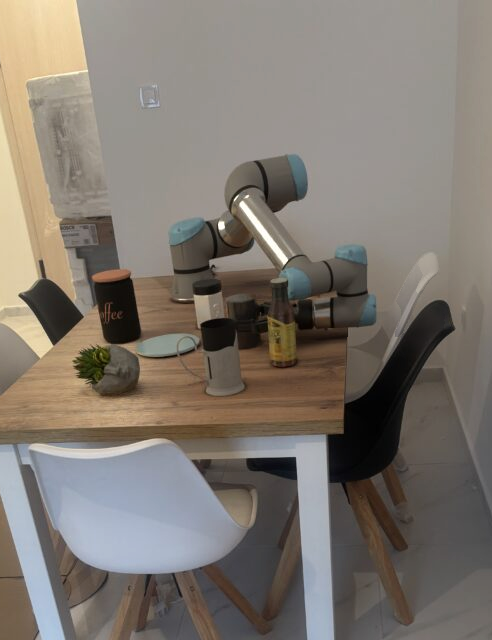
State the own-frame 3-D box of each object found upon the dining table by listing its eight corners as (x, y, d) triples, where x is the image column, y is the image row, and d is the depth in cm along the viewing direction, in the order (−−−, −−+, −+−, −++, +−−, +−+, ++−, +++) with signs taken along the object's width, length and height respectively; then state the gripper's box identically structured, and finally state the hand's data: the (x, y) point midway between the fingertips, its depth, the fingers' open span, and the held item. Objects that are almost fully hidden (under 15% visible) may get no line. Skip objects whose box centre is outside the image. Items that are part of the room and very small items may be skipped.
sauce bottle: (266, 363, 184) (258, 279, 175) (289, 357, 186) (283, 274, 176) (278, 370, 179) (271, 284, 169) (302, 364, 181) (296, 279, 171)
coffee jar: (96, 341, 217) (83, 277, 208) (125, 331, 223) (113, 267, 214) (121, 346, 210) (108, 280, 201) (149, 335, 216) (139, 270, 208)
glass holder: (250, 389, 170) (243, 323, 163) (190, 404, 167) (180, 337, 159) (236, 378, 177) (229, 314, 170) (178, 392, 174) (168, 327, 167)
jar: (205, 331, 213) (200, 288, 207) (190, 326, 219) (185, 284, 214) (232, 323, 217) (227, 280, 211) (217, 318, 223) (212, 277, 217)
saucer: (146, 340, 213) (145, 335, 212) (205, 336, 209) (205, 331, 209) (128, 360, 199) (127, 355, 198) (192, 357, 195) (191, 352, 194)
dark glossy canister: (233, 340, 204) (228, 294, 198) (263, 338, 202) (259, 292, 196) (228, 349, 197) (222, 303, 191) (259, 348, 195) (254, 300, 189)
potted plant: (140, 385, 171) (71, 379, 167) (133, 406, 183) (69, 400, 180) (141, 335, 174) (74, 328, 170) (134, 359, 186) (71, 352, 182)
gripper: (310, 344, 184) (223, 349, 188) (318, 314, 205) (240, 319, 209) (308, 313, 180) (220, 319, 184) (316, 286, 201) (237, 291, 206)
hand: (230, 319), depth 197 cm, fingers open, 13 cm apart
